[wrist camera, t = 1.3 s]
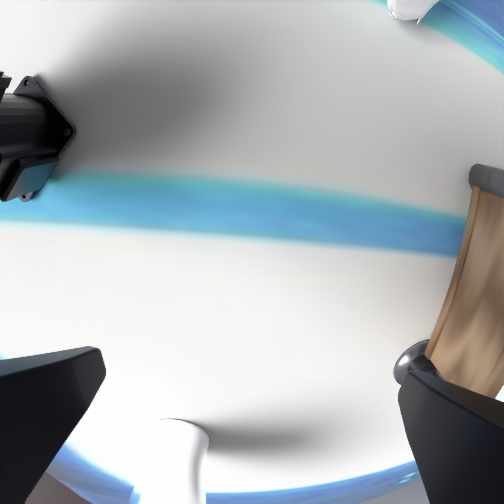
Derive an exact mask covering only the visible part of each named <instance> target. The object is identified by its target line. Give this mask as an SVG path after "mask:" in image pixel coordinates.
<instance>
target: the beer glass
mask: <svg viewBox="0 0 504 504" xmlns="http://www.w3.org/2000/svg"><path fill="white" fill-rule="evenodd" d="M208 446H209V438H208V435H207V434H206V433H205V432H204V431H203V430H202V429H201V428H199V427H198V426H196V425H194V424H192V423H189V422H186V421H182V420H176V419H164V420H159V421H156V422H154V423H152V424H151V425H150V426H149V428H148V431H147V454H146V459H145V463H144V466H143V468H142V470H141V473H140V475H139V477H138V479H137V481H136V484H135V486H134V488H133V490H132V493H131V495H130V497H129V500H128V503H127V504H207V500H206V494H205V488H204V481H203V464H204V459H205V456H206V453H207V449H208Z"/></svg>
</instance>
